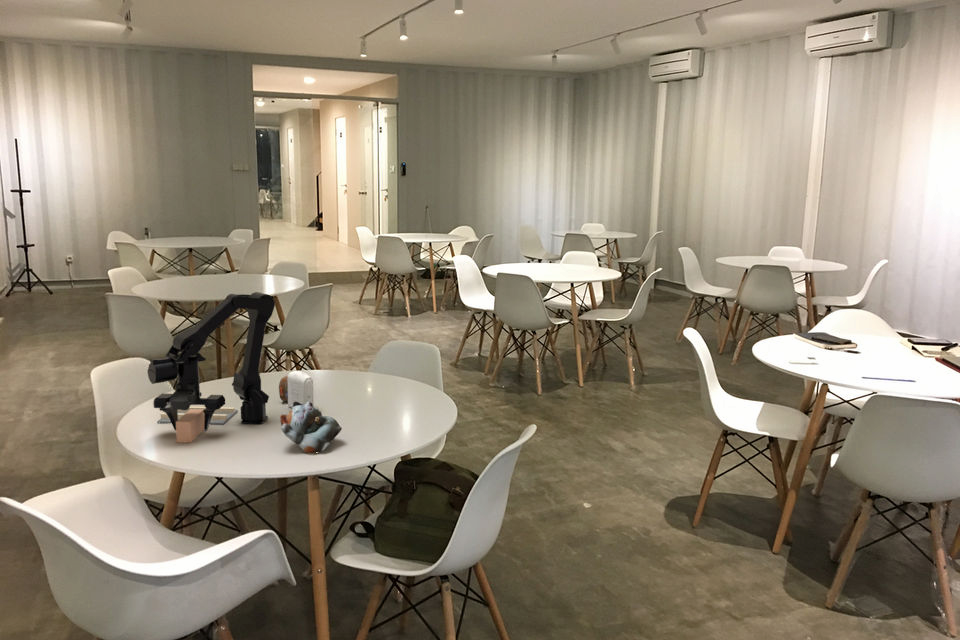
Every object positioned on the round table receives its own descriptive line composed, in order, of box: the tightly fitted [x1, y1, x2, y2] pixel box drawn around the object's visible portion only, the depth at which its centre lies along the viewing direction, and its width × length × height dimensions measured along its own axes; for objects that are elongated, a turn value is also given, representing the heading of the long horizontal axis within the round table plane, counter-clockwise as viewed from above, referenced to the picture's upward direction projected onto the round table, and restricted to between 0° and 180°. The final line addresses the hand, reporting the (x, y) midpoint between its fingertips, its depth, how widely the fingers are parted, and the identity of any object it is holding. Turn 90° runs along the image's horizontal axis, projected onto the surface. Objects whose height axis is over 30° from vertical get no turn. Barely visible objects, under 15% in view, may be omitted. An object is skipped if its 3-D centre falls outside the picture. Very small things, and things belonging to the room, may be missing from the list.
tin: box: [278, 373, 289, 402], centre depth 257 cm, size 15×3×8 cm, turn 168°
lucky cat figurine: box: [279, 402, 343, 454], centre depth 212 cm, size 15×12×14 cm
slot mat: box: [157, 406, 239, 426], centre depth 236 cm, size 20×13×2 cm, turn 89°
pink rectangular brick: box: [175, 409, 205, 443], centre depth 220 cm, size 4×12×6 cm, turn 2°
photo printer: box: [287, 370, 314, 409], centre depth 245 cm, size 10×4×12 cm, turn 47°
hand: (191, 430), depth 220 cm, fingers open, 8 cm apart
